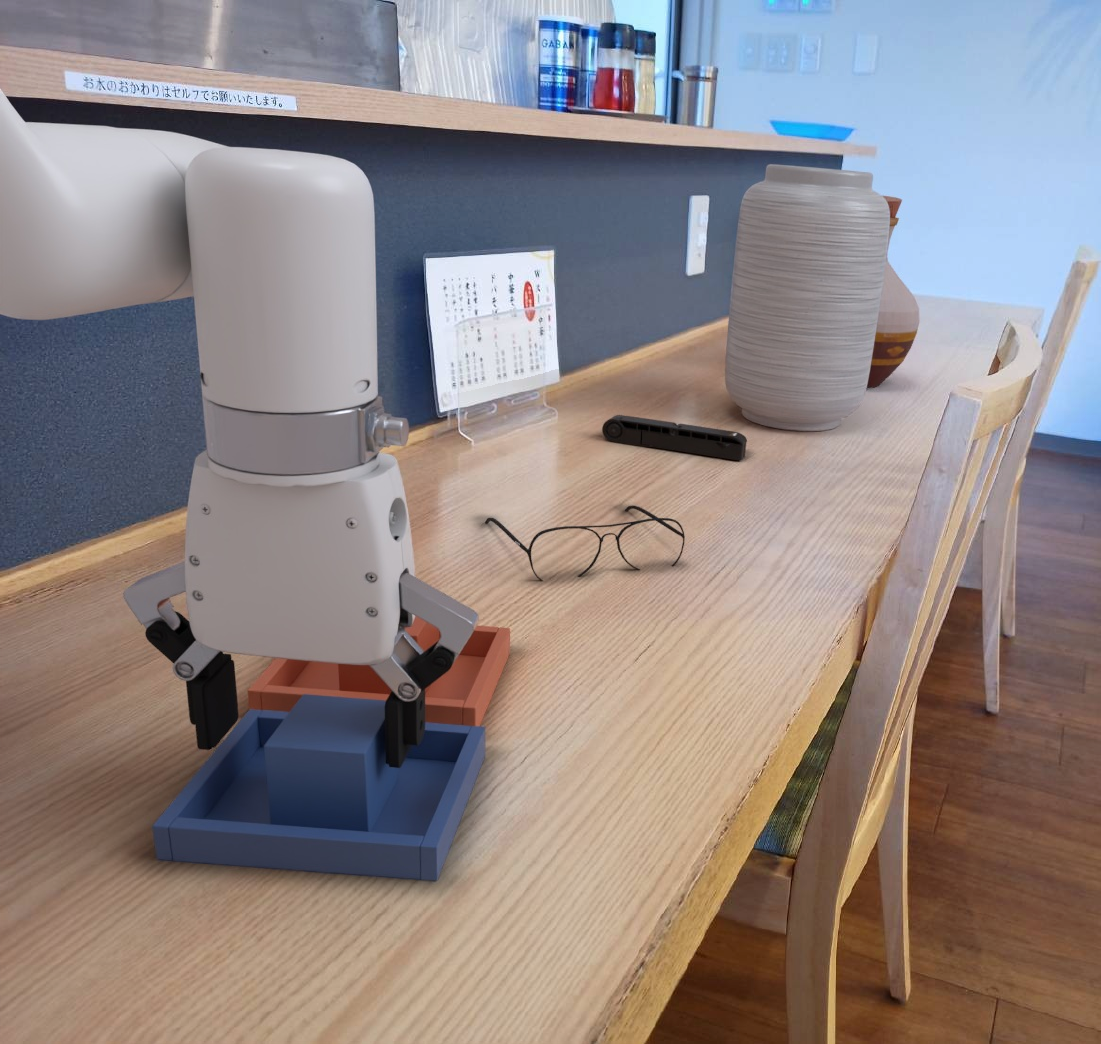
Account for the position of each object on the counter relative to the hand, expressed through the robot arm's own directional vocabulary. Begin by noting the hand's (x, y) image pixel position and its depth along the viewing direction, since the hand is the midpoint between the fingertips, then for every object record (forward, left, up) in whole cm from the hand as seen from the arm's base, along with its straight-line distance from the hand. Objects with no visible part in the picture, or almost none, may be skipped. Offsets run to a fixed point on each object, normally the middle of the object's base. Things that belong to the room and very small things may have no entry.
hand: (310, 743), depth 52 cm
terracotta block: (+1, +12, -3) cm, 12 cm away
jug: (+45, +122, -4) cm, 130 cm away
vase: (+32, +93, -4) cm, 98 cm away
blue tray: (+1, -1, -4) cm, 4 cm away
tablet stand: (+16, +73, -4) cm, 75 cm away
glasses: (+9, +39, -4) cm, 40 cm away
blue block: (+1, -1, -3) cm, 3 cm away
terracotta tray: (0, +12, -4) cm, 12 cm away
